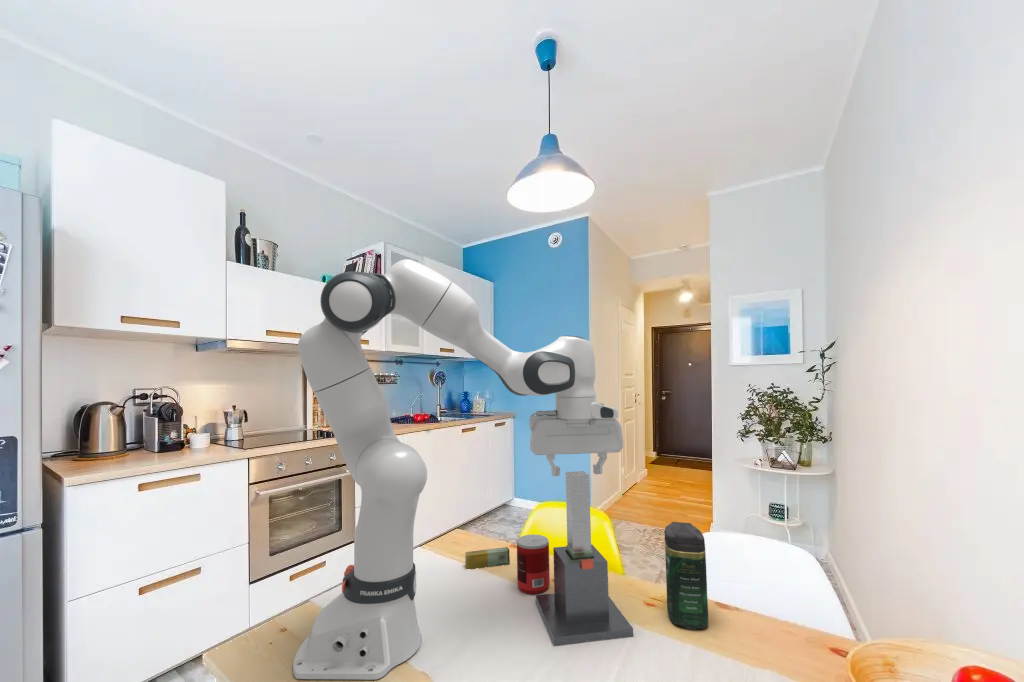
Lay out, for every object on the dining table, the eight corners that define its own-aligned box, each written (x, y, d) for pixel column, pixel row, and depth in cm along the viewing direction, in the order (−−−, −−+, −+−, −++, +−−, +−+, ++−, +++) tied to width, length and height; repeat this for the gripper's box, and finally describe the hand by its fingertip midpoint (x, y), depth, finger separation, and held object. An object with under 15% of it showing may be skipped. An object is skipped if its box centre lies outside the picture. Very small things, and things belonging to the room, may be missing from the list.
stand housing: (553, 645, 81) (552, 570, 82) (535, 602, 97) (534, 539, 98) (633, 636, 83) (630, 563, 85) (603, 595, 99) (601, 533, 100)
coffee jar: (713, 633, 84) (708, 536, 85) (670, 628, 86) (666, 533, 87) (703, 607, 93) (699, 520, 95) (665, 603, 95) (661, 517, 97)
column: (573, 585, 88) (570, 476, 90) (567, 575, 92) (564, 471, 94) (593, 583, 89) (590, 475, 91) (586, 573, 93) (583, 470, 95)
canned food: (555, 583, 105) (554, 537, 106) (539, 598, 98) (538, 548, 99) (528, 576, 109) (527, 532, 110) (511, 589, 102) (510, 542, 103)
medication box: (508, 561, 119) (507, 546, 119) (510, 565, 116) (510, 549, 116) (465, 566, 116) (464, 551, 116) (466, 570, 113) (466, 555, 114)
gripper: (532, 411, 89) (533, 480, 88) (625, 410, 92) (627, 475, 91) (526, 409, 95) (527, 473, 94) (613, 408, 98) (615, 469, 97)
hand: (576, 474), depth 92 cm, fingers open, 8 cm apart
